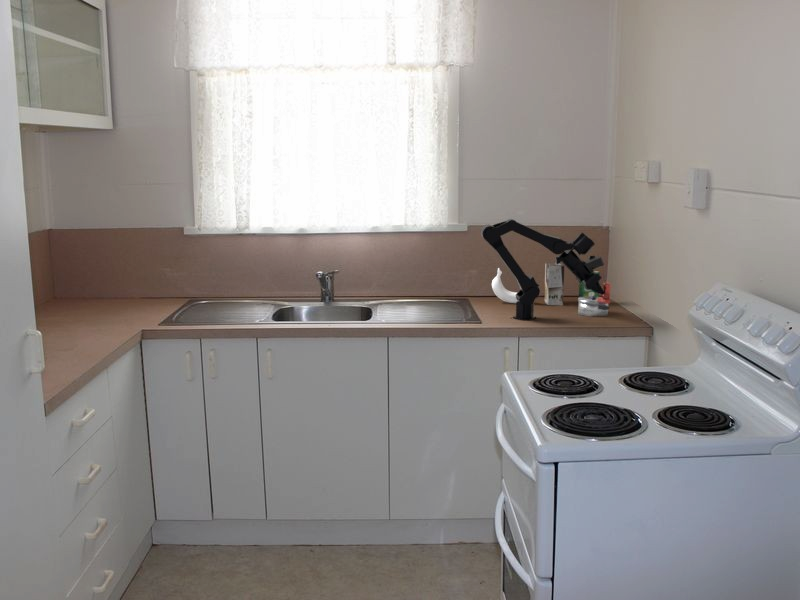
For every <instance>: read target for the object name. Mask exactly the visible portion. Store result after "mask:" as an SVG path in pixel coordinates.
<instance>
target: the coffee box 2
mask: <svg viewBox="0 0 800 600" xmlns="http://www.w3.org/2000/svg"><path fill="white" fill-rule="evenodd" d="M592 273H598V274H599V275H600V276H601V272H600V271H596V270H594V271H593V272H592ZM592 273H591V274H592ZM600 280H601V279H600ZM600 280H599V281H598V282H599V283H601V282H600ZM583 284H584V282H581V283H579V285H578V298H579V297H587V296H596V297H600V296H599V295H600V294H599V293H597V292H595V291H593V290H590V289H588V288H586V287H585V286H583Z"/></svg>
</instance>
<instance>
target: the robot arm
mask: <svg viewBox="0 0 800 600" xmlns="http://www.w3.org/2000/svg"><path fill="white" fill-rule="evenodd" d="M510 232H514V233H515V234H516V233H517V234H519V235H520V236H523V237H525V238H527V239H529V240H532V241H534V242H536V243H538V244H540V245H541V246H542V247H544V248H545V249H546V250H548V251H550V252H551V253H553V254H555V255H558V256H554V260H555V261H554V263H556V264H559V263H561V264H563V265H564V267H566V268H567V269H568V270H569V272H570V273H572V274H573V275H574V277H575V280H576V281H577V282H578V283H579V284H580V283H581V282H584V284H583V286H585V287H586V288H588V289H590V290H593V291H595V292H597V293H599V295H602V296H603V294H604V293H605V292H604V291H603V287H602V286H601V284H600V282H598V281H599V280H601V279H602V276H601V274H600V275H599V274H598V273H592V272H593V271H595V270H596V269H597V268H600V267H603V266H604V265H605V263H604V261H603V259H602V257H601V256H599V255H597V256H595V255H594V254H591V255H589V256H588V260H585V261H584V260H582V259H581V257H580V256H581V255H583V256H585V255H586V254H587V253H588V252H589V251H591V249H593V248H594V246H595V245H596V243H595V242H594V241H593V240H592V239H591V238H590V237H588V235H586V234H585V233H584V232H580V233H578V235H577V236H576V237H575V238H574V239H573V240H572V241H570V240H567V241H566V240H563V239H561V238H560V237H557V236H554V235H549V234H547V233H546V234H545V233H542V232H539V231H538V230H535V229H533V228H531V227H528V226H527V225H525V224H523V223H520V222H518V221H516V220H515V219H514V218H508V219H507V220H504V221H502V222H501V221H500V222H497V223H495V224H490V223H489V224H484V225H483V226H482V228H481V229H480V236H481V238H483V240H484V241H486V243H487V244H489V245H490V246H491V247H492V248H493V249H494V251H496V253H497V254H498V255H499V257H500V259H501V261H502V262H503V263H504V264H505V266H506V267H507V268H508V269H509V271H510V272H511V274H512V276H513V277H514V278H515V280H516V282H517V284H518V287H519V289H520V290H519V291H518V292H516V293H517V294H516V295H515V296H516V299H517V300H518V301H517V302H516V303H515V305H516V306H515V315H513V316H512V318H513V319H515V320H523V321H529V320H534V319H537V316H534V311H535V310H534V303H535V300H536V299H537V298H539V296H540V292H541V289H540V284H539V283H537V282H536V279H535V278H534V276H533V275H532V274H529V275H528V276H527V275H526V273H525V272H524V270H523V269H522V268H521V266H520V265H519V264H518V262H517V261H516V260H515V258H514V257H513V255H512V254H511V252H510V251H509V250H508V248H507V247H506V245H505V244H504V242H503V239H502V237H501V236H503V235H506V234H507V233H510ZM591 273H592V274H591ZM533 318H534V319H533Z"/></svg>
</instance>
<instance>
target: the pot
mask: <svg viewBox="0 0 800 600" xmlns="http://www.w3.org/2000/svg"><path fill="white" fill-rule="evenodd" d="M609 310H610V306H609V303H608V304H586V303H581V302H578V310H577V313H578V315H580V316H585V317H592V316H595V317H598V318H599V316H600V317H605V316H606V317H607V316H608V315H609V314H608V313H609Z"/></svg>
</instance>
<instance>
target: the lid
mask: <svg viewBox="0 0 800 600" xmlns="http://www.w3.org/2000/svg"><path fill="white" fill-rule="evenodd" d="M602 289H603V291H604V292H605V293H604V294H603V295H602V296H599V297H596V296H587V297H579V296H578V298H577V302H578V303H579V302H581V303H586V304H608V305H609V304H611V283H610V282H603V285H602Z"/></svg>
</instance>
